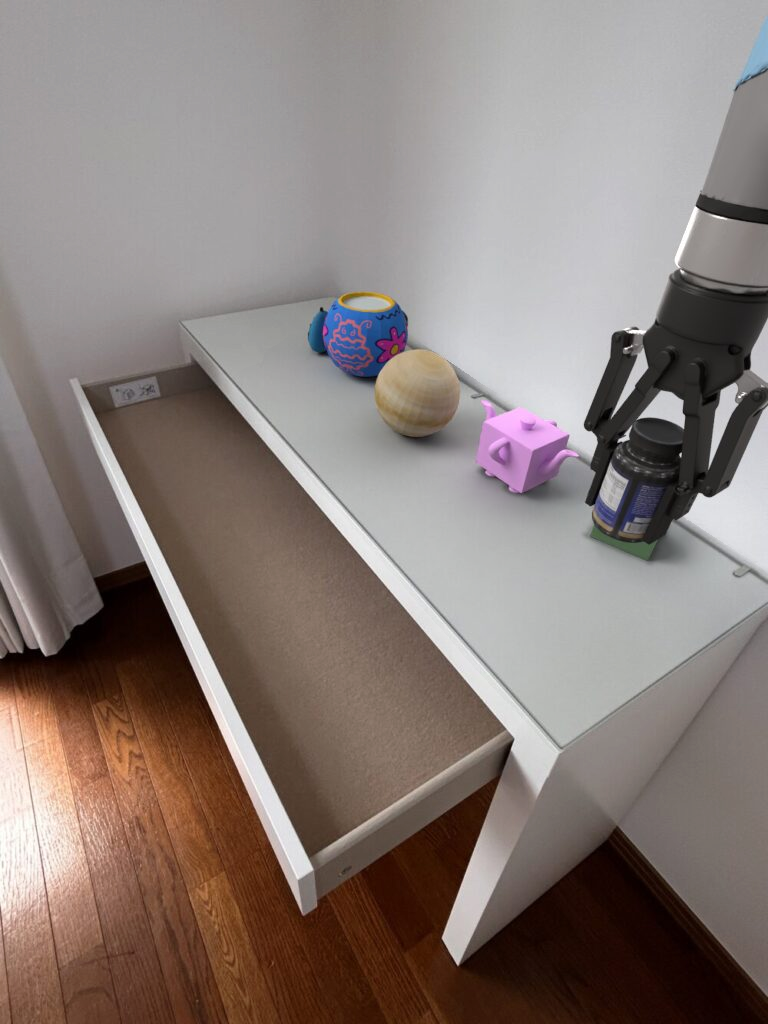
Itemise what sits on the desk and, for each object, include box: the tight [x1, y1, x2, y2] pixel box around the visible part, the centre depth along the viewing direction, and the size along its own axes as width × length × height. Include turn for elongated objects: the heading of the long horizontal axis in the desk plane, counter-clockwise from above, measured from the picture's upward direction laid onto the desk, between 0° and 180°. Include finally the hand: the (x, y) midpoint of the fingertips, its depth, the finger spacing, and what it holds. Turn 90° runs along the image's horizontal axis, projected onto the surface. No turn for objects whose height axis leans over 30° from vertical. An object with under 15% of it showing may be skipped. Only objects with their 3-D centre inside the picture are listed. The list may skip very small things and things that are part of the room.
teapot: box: [475, 399, 580, 494], centre depth 92 cm, size 15×13×11 cm
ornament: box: [307, 306, 328, 354], centre depth 126 cm, size 8×5×10 cm, turn 152°
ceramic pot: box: [323, 291, 409, 378], centre depth 118 cm, size 18×18×15 cm
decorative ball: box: [374, 348, 461, 438], centre depth 100 cm, size 15×15×15 cm
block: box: [589, 524, 659, 561], centre depth 84 cm, size 8×8×5 cm
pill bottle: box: [591, 416, 684, 543], centre depth 54 cm, size 6×6×11 cm
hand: (624, 518), depth 56 cm, fingers closed on pill bottle, 6 cm apart
